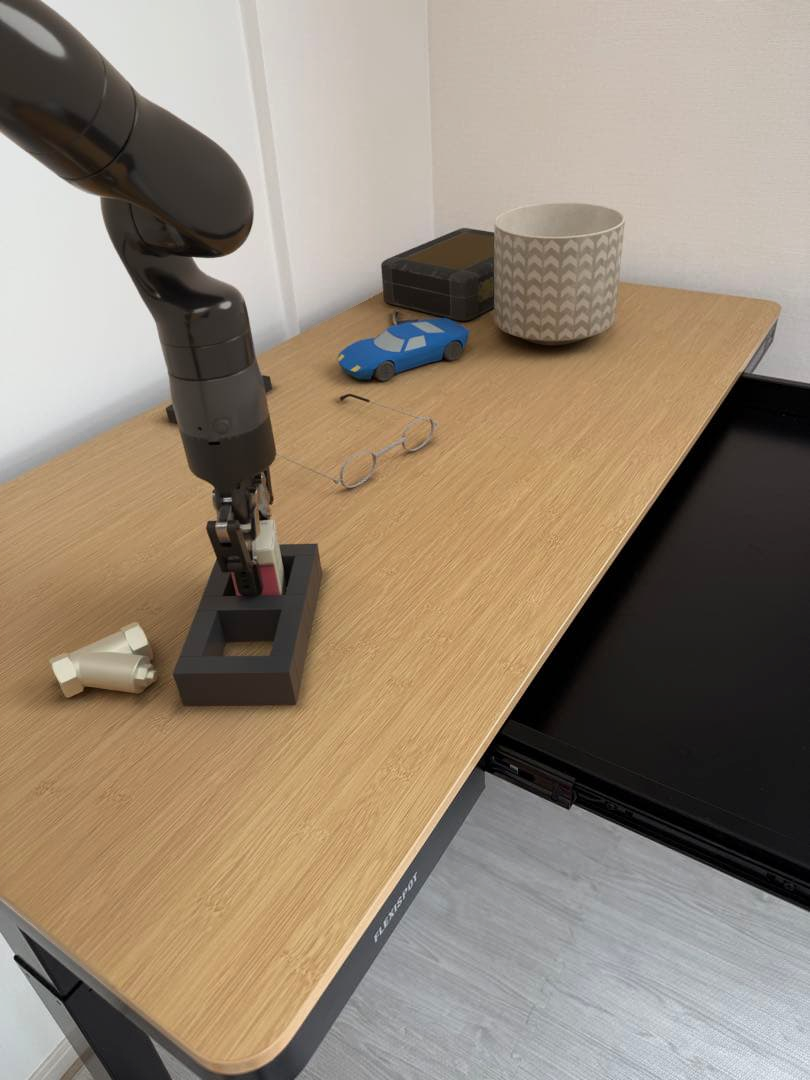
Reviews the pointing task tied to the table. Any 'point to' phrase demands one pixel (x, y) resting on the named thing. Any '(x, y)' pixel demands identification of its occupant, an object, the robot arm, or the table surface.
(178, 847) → the table surface
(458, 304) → the jewelry box
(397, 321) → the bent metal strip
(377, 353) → the toy car
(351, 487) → the eyeglasses
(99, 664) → the pipe fitting
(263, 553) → the small box
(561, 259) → the planter
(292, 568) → the socket block
